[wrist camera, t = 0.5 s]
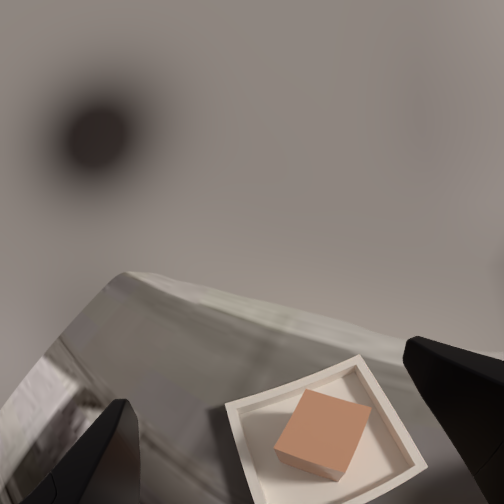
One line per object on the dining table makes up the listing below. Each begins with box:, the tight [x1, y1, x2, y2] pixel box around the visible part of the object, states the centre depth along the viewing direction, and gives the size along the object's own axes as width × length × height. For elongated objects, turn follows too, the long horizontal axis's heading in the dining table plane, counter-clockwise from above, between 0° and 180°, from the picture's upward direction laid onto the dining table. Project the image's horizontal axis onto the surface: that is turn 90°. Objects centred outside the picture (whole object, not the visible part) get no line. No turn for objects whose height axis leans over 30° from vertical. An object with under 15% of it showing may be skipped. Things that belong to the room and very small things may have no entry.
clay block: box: [273, 389, 372, 482], centre depth 17 cm, size 5×5×5 cm
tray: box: [225, 354, 428, 504], centre depth 19 cm, size 13×13×2 cm
